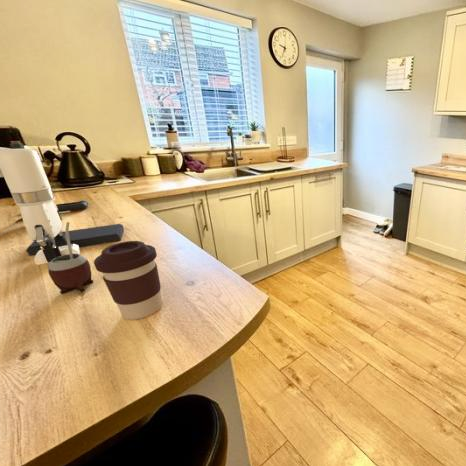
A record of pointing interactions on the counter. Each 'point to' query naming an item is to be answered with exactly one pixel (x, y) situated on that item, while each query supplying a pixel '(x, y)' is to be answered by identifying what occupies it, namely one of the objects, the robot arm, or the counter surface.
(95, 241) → the dark grey flat bar
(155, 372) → the counter surface
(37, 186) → the robot arm
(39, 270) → the counter surface
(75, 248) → the soap bar
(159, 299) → the coffee cup
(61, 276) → the mate gourd
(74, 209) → the door handle
